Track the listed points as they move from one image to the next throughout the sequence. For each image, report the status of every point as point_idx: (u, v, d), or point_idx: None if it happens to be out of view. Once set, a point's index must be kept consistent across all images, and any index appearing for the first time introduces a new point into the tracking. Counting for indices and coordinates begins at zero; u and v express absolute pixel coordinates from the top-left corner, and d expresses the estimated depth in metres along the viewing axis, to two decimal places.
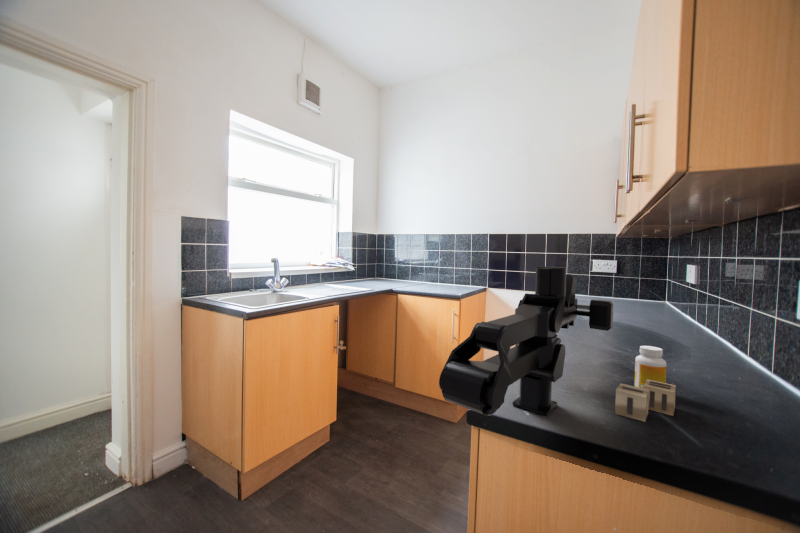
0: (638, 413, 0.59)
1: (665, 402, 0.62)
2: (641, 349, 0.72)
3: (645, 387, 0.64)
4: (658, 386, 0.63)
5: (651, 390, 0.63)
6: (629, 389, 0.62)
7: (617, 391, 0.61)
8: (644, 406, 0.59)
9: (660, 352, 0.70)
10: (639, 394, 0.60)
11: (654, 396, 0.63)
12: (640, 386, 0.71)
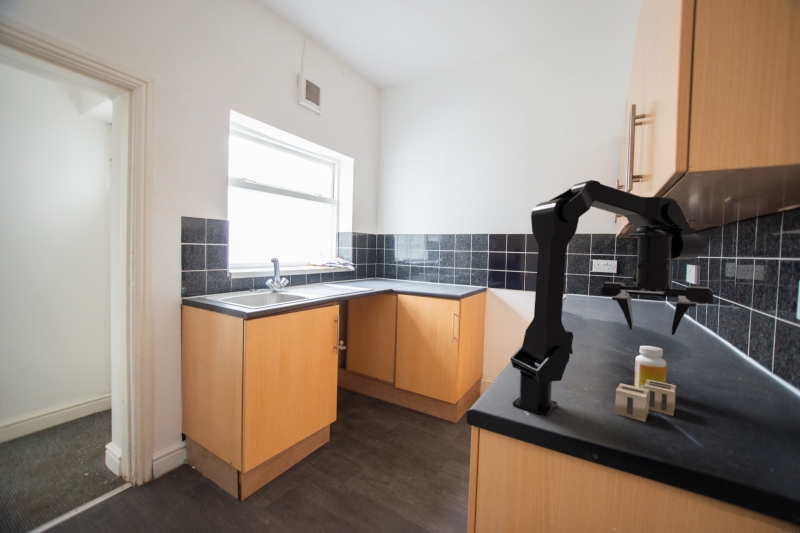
0: (638, 413, 0.59)
1: (665, 402, 0.62)
2: (641, 349, 0.72)
3: (645, 387, 0.64)
4: (658, 386, 0.63)
5: (651, 390, 0.63)
6: (629, 389, 0.62)
7: (617, 391, 0.61)
8: (644, 406, 0.59)
9: (660, 352, 0.70)
10: (639, 394, 0.60)
11: (654, 396, 0.63)
12: (640, 386, 0.71)
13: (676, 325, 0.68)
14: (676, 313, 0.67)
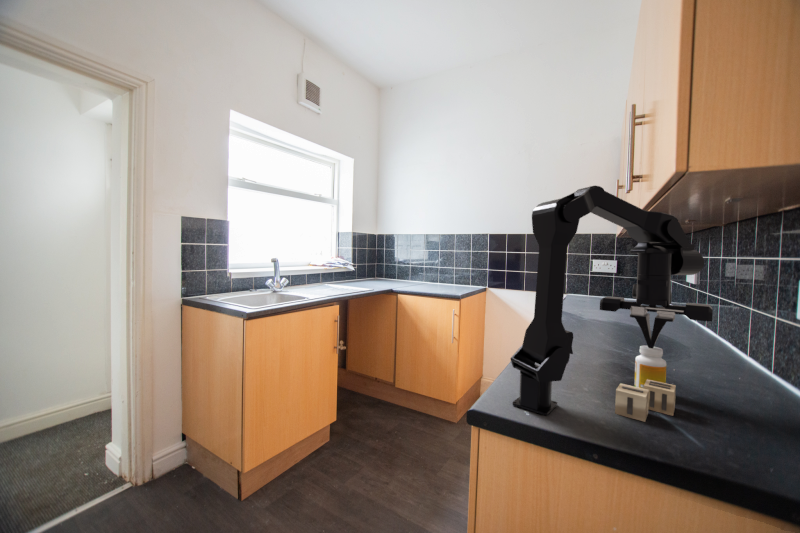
0: (638, 413, 0.59)
1: (665, 402, 0.62)
2: (641, 349, 0.72)
3: (645, 387, 0.64)
4: (658, 386, 0.63)
5: (651, 390, 0.63)
6: (629, 389, 0.62)
7: (617, 391, 0.61)
8: (644, 406, 0.59)
9: (660, 352, 0.70)
10: (639, 394, 0.60)
11: (654, 396, 0.63)
12: (640, 386, 0.71)
13: (654, 339, 0.70)
14: (654, 327, 0.69)
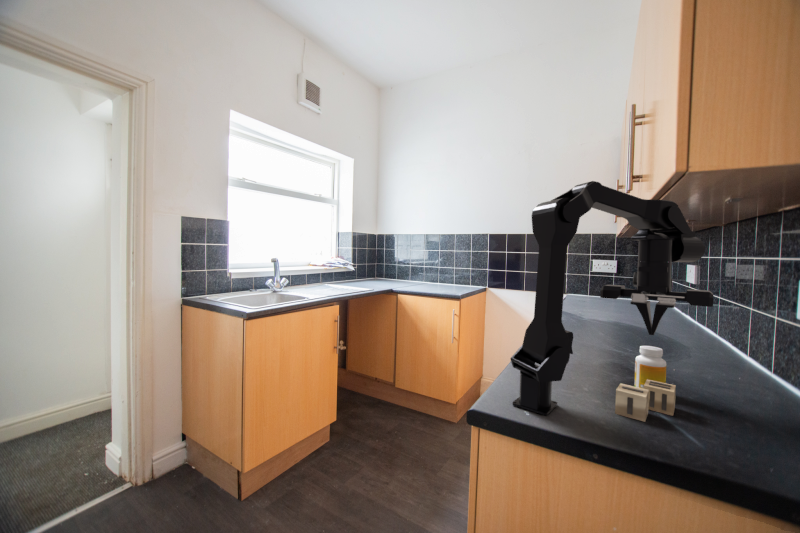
0: (638, 413, 0.59)
1: (665, 402, 0.62)
2: (641, 349, 0.72)
3: (645, 387, 0.64)
4: (658, 386, 0.63)
5: (651, 390, 0.63)
6: (629, 389, 0.62)
7: (617, 391, 0.61)
8: (644, 406, 0.59)
9: (660, 352, 0.70)
10: (639, 394, 0.60)
11: (654, 396, 0.63)
12: (640, 386, 0.71)
13: (655, 326, 0.70)
14: (655, 314, 0.69)
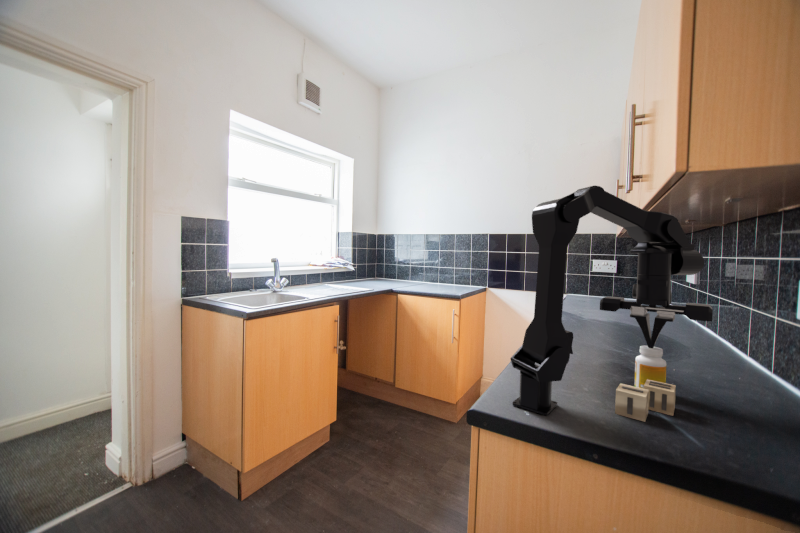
0: (638, 413, 0.59)
1: (665, 402, 0.62)
2: (641, 349, 0.72)
3: (645, 387, 0.64)
4: (658, 386, 0.63)
5: (651, 390, 0.63)
6: (629, 389, 0.62)
7: (617, 391, 0.61)
8: (644, 406, 0.59)
9: (660, 352, 0.70)
10: (639, 394, 0.60)
11: (654, 396, 0.63)
12: (640, 386, 0.71)
13: (654, 339, 0.70)
14: (654, 327, 0.69)
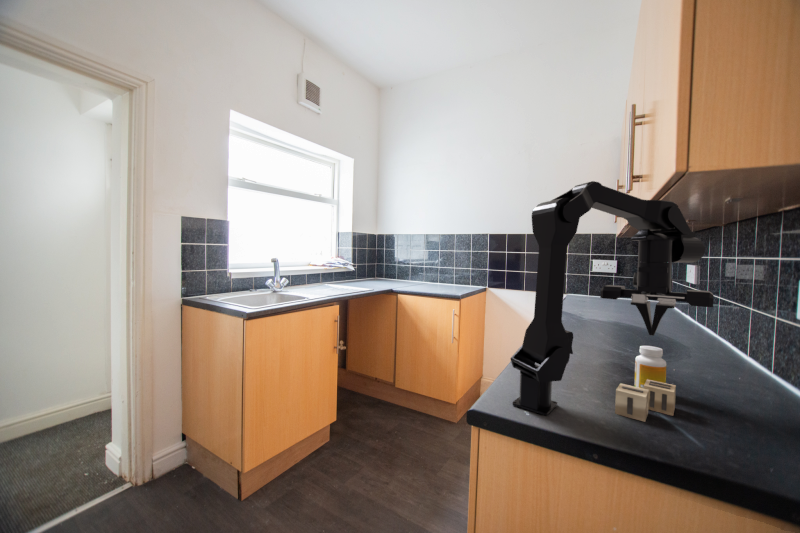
0: (638, 413, 0.59)
1: (665, 402, 0.62)
2: (641, 349, 0.72)
3: (645, 387, 0.64)
4: (658, 386, 0.63)
5: (651, 390, 0.63)
6: (629, 389, 0.62)
7: (617, 391, 0.61)
8: (644, 406, 0.59)
9: (660, 352, 0.70)
10: (639, 394, 0.60)
11: (654, 396, 0.63)
12: (640, 386, 0.71)
13: (655, 326, 0.70)
14: (655, 314, 0.69)
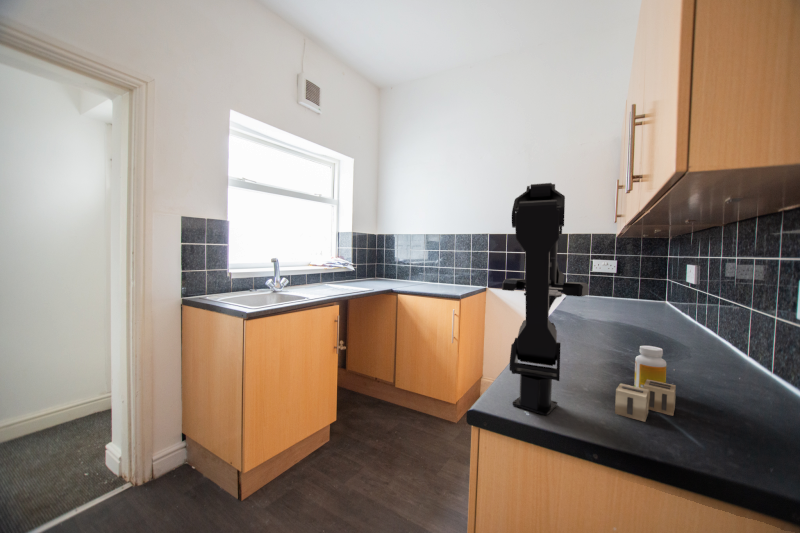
0: (638, 413, 0.59)
1: (665, 402, 0.62)
2: (641, 349, 0.72)
3: (645, 387, 0.64)
4: (658, 386, 0.63)
5: (651, 390, 0.63)
6: (629, 389, 0.62)
7: (617, 391, 0.61)
8: (644, 406, 0.59)
9: (660, 352, 0.70)
10: (639, 394, 0.60)
11: (654, 396, 0.63)
12: (640, 386, 0.71)
13: None
14: None
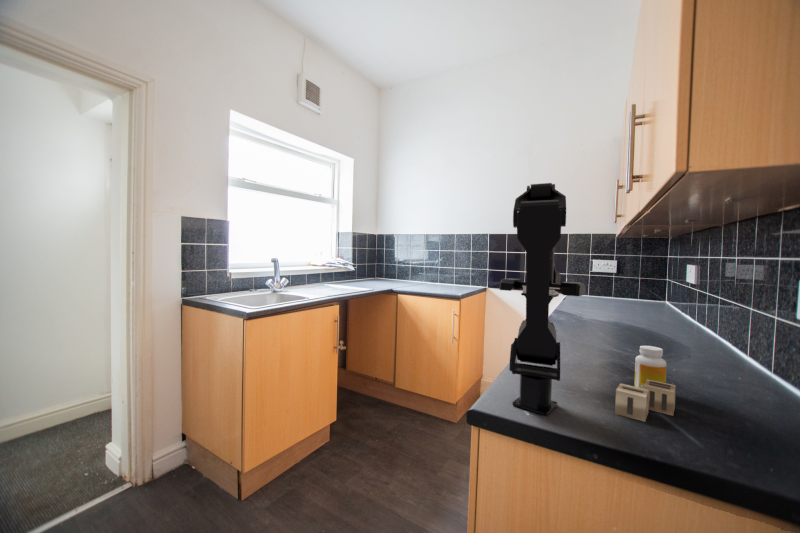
0: (638, 413, 0.59)
1: (665, 402, 0.62)
2: (641, 349, 0.72)
3: (645, 387, 0.64)
4: (658, 386, 0.63)
5: (651, 390, 0.63)
6: (629, 389, 0.62)
7: (617, 391, 0.61)
8: (644, 406, 0.59)
9: (660, 352, 0.70)
10: (639, 394, 0.60)
11: (654, 396, 0.63)
12: (640, 386, 0.71)
13: None
14: None
